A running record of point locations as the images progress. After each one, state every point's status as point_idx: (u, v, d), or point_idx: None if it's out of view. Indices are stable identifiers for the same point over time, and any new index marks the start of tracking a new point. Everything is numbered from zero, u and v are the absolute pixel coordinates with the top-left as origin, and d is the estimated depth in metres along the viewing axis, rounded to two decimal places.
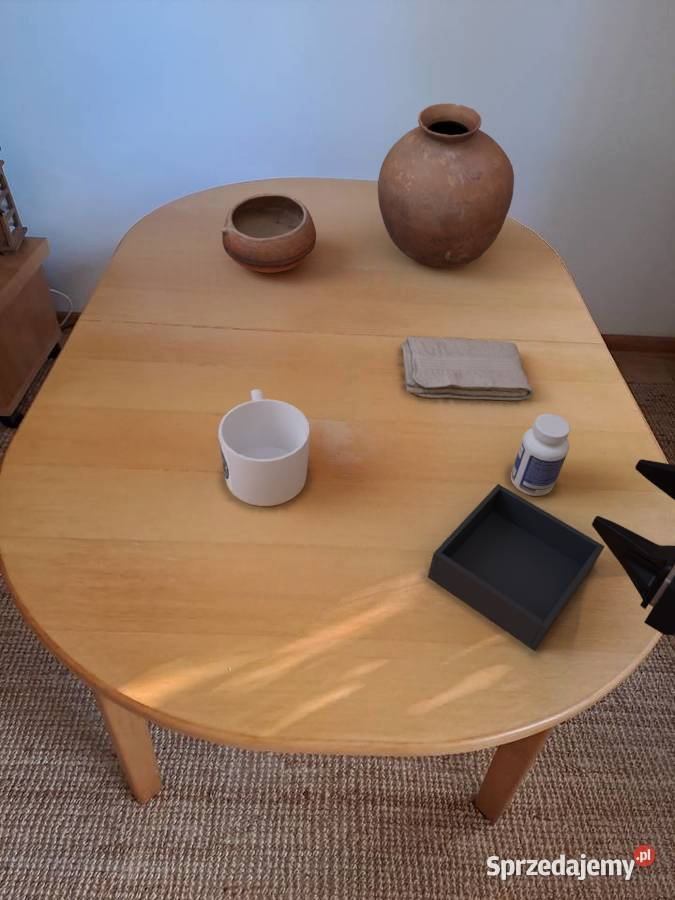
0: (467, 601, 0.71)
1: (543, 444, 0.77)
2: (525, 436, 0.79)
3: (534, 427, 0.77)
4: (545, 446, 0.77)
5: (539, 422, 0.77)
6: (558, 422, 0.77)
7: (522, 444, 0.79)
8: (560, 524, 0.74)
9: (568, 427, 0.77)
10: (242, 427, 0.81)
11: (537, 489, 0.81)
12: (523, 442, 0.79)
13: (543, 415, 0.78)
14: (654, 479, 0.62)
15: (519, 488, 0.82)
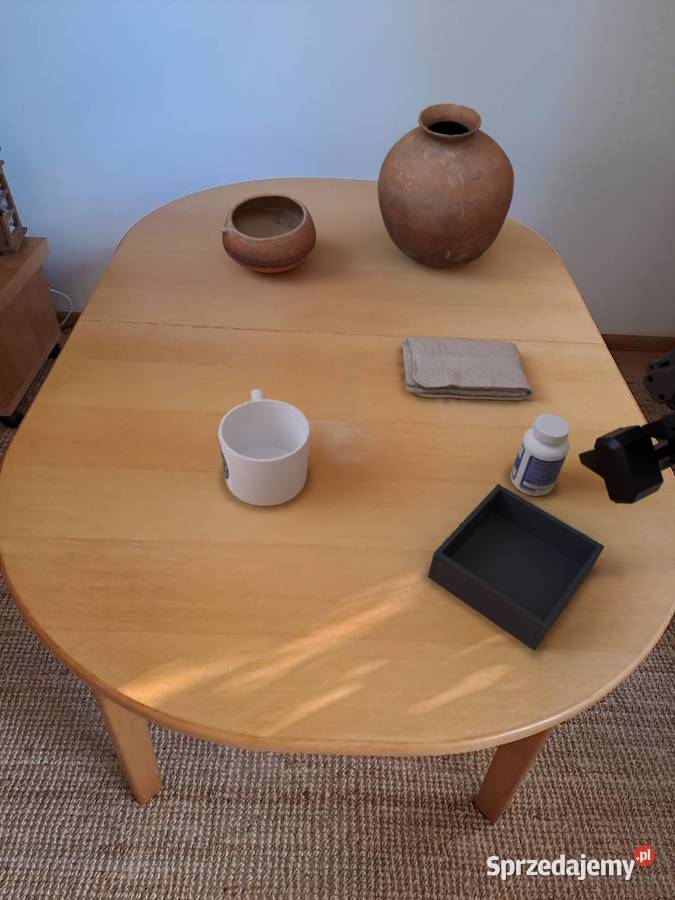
0: (467, 601, 0.71)
1: (543, 444, 0.77)
2: (525, 436, 0.79)
3: (534, 427, 0.77)
4: (545, 446, 0.77)
5: (539, 422, 0.77)
6: (558, 422, 0.77)
7: (522, 444, 0.79)
8: (560, 524, 0.74)
9: (568, 427, 0.77)
10: (242, 427, 0.81)
11: (537, 489, 0.81)
12: (523, 442, 0.79)
13: (543, 415, 0.78)
14: (660, 435, 0.70)
15: (519, 488, 0.82)
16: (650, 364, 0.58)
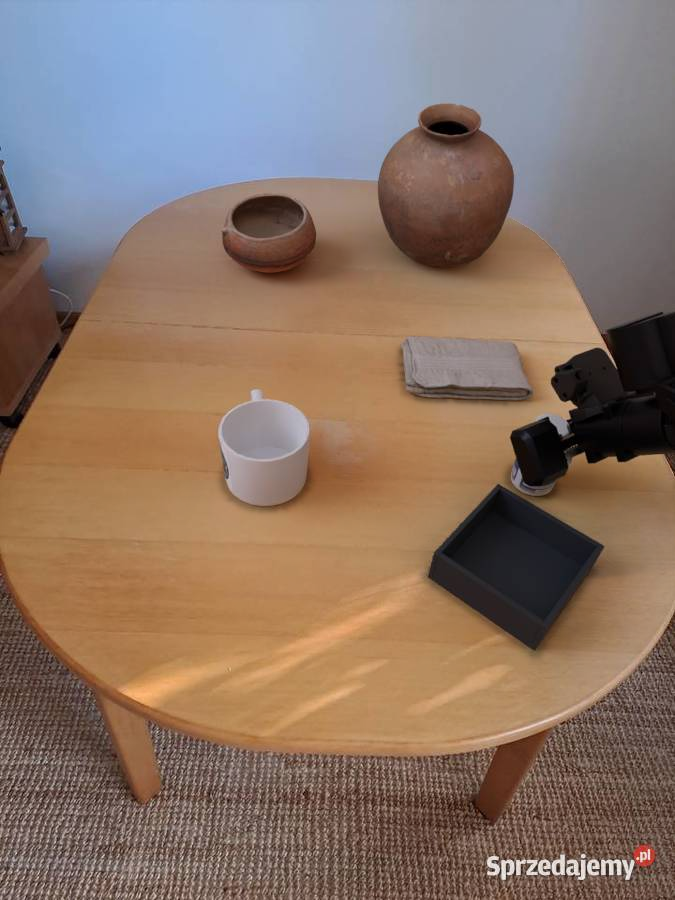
0: (467, 601, 0.71)
1: None
2: None
3: None
4: None
5: None
6: (558, 422, 0.77)
7: None
8: (560, 524, 0.74)
9: None
10: (242, 427, 0.81)
11: (537, 489, 0.81)
12: None
13: (543, 415, 0.78)
14: None
15: (519, 488, 0.82)
16: (556, 367, 0.69)
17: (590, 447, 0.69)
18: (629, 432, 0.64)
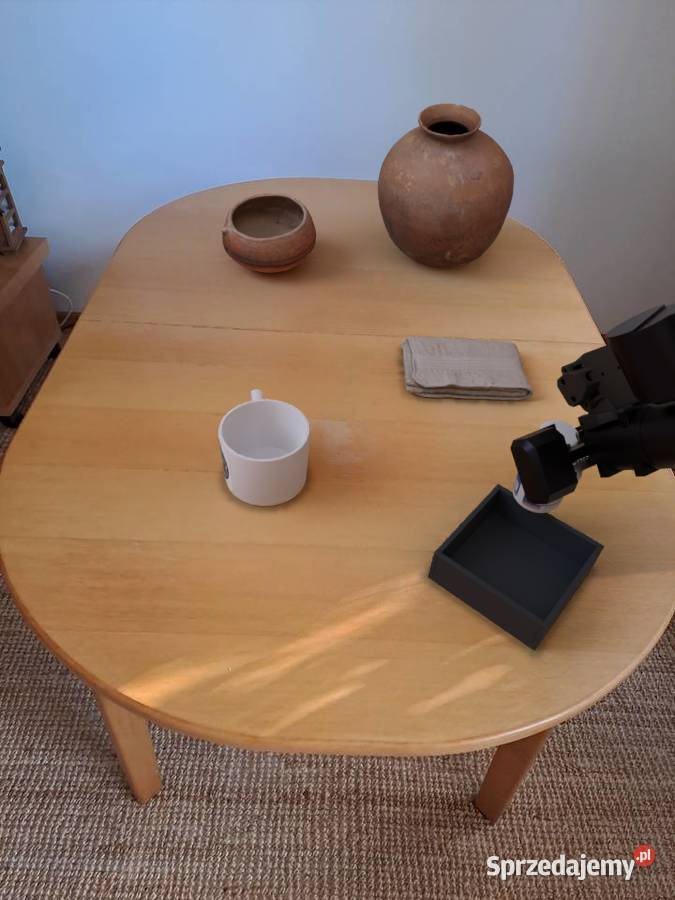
0: (467, 601, 0.71)
1: None
2: None
3: None
4: None
5: None
6: (566, 430, 0.68)
7: None
8: (560, 524, 0.74)
9: None
10: (242, 427, 0.81)
11: (542, 506, 0.72)
12: None
13: (548, 422, 0.69)
14: None
15: (522, 504, 0.73)
16: (563, 367, 0.60)
17: (603, 459, 0.60)
18: (651, 448, 0.55)
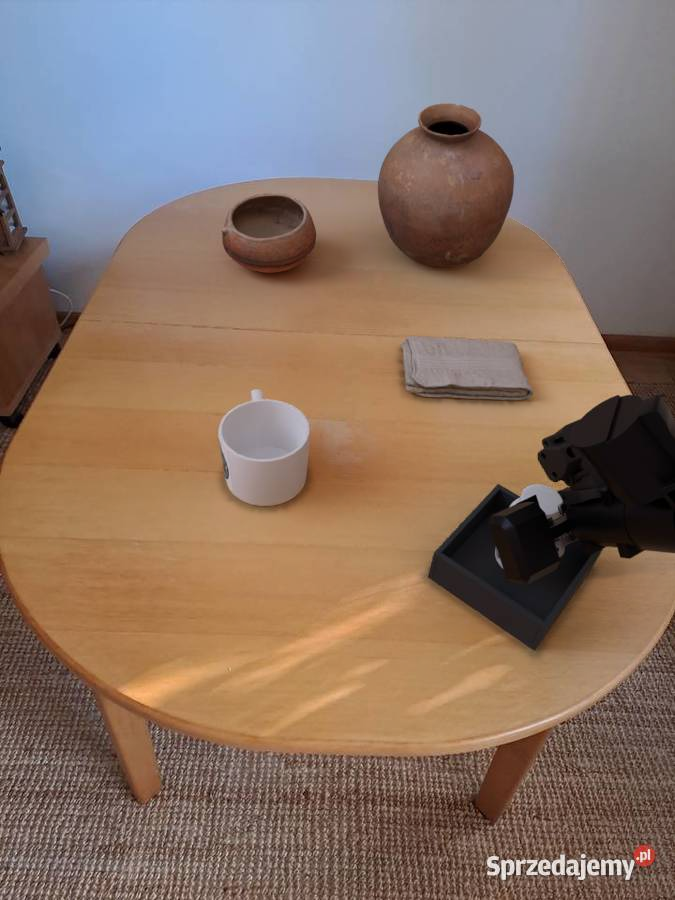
0: (467, 601, 0.71)
1: None
2: None
3: (520, 501, 0.65)
4: None
5: (525, 495, 0.65)
6: (549, 495, 0.65)
7: None
8: None
9: (560, 501, 0.65)
10: (242, 427, 0.81)
11: None
12: None
13: (531, 486, 0.66)
14: None
15: None
16: (544, 440, 0.57)
17: (586, 535, 0.57)
18: (640, 540, 0.52)
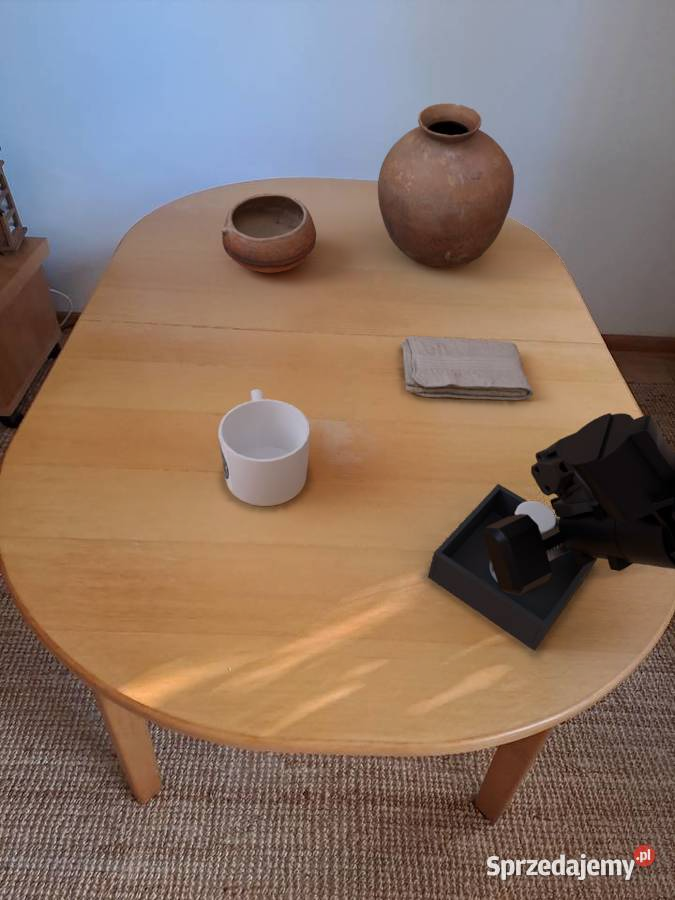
0: (467, 601, 0.71)
1: None
2: None
3: None
4: None
5: (520, 512, 0.67)
6: (542, 512, 0.67)
7: None
8: None
9: (554, 518, 0.67)
10: (242, 427, 0.81)
11: None
12: None
13: (525, 503, 0.68)
14: None
15: None
16: (538, 454, 0.58)
17: (578, 547, 0.58)
18: (629, 553, 0.53)
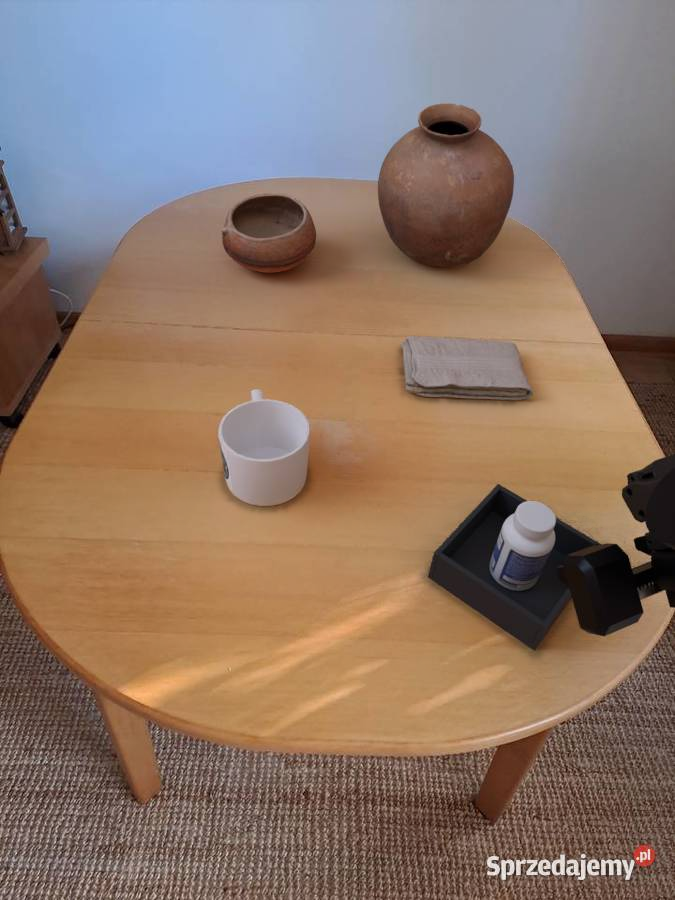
0: (467, 601, 0.71)
1: (525, 538, 0.67)
2: (505, 526, 0.69)
3: (515, 518, 0.67)
4: (528, 540, 0.67)
5: (520, 512, 0.67)
6: (542, 512, 0.67)
7: (501, 535, 0.69)
8: (560, 524, 0.74)
9: (554, 518, 0.67)
10: (242, 427, 0.81)
11: (519, 584, 0.71)
12: (502, 533, 0.69)
13: (525, 503, 0.68)
14: None
15: (499, 581, 0.72)
16: (630, 474, 0.51)
17: (674, 586, 0.51)
18: None
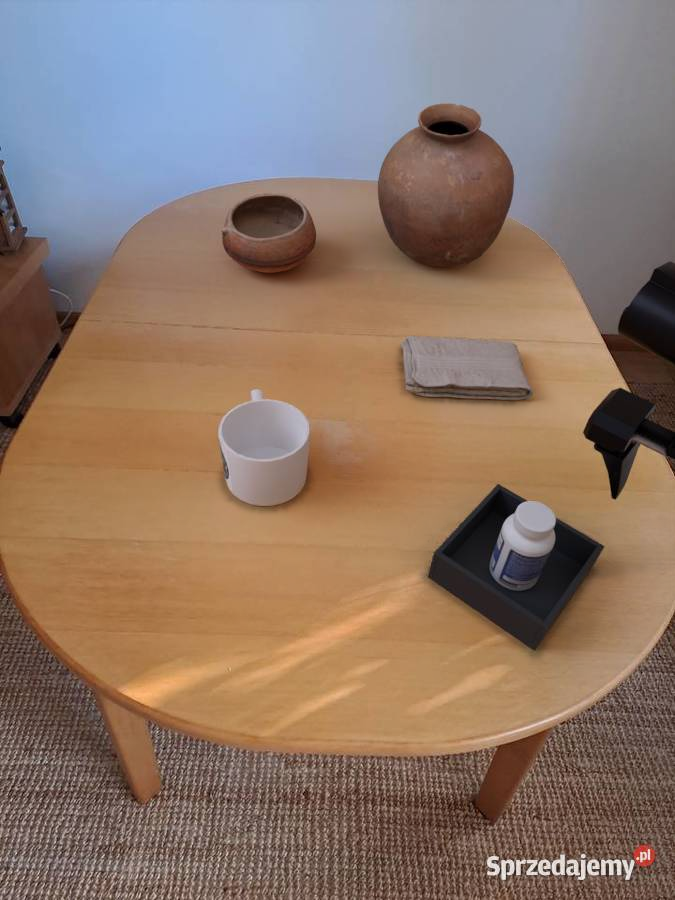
0: (467, 601, 0.71)
1: (525, 538, 0.67)
2: (505, 526, 0.69)
3: (515, 518, 0.67)
4: (528, 540, 0.67)
5: (520, 512, 0.67)
6: (542, 512, 0.67)
7: (501, 535, 0.69)
8: (560, 524, 0.74)
9: (554, 518, 0.67)
10: (242, 427, 0.81)
11: (519, 585, 0.71)
12: (502, 533, 0.69)
13: (525, 503, 0.68)
14: None
15: (499, 581, 0.72)
16: None
17: None
18: None
